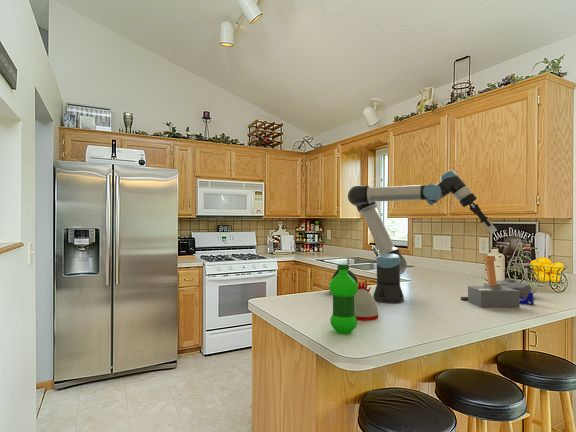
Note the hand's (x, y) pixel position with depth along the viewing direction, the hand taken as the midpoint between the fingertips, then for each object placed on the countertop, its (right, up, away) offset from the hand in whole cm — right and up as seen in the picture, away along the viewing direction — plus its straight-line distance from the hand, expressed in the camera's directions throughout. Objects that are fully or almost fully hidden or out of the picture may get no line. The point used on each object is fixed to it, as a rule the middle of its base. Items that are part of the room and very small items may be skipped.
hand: (494, 231), depth 166 cm
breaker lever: (0, -28, +1) cm, 28 cm away
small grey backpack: (+22, -37, +23) cm, 49 cm away
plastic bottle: (-80, -36, -39) cm, 96 cm away
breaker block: (0, -36, +1) cm, 36 cm away
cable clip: (+15, -36, +5) cm, 40 cm away
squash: (-68, -37, +31) cm, 83 cm away
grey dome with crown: (-68, -36, -19) cm, 79 cm away
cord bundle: (0, -36, +11) cm, 37 cm away
